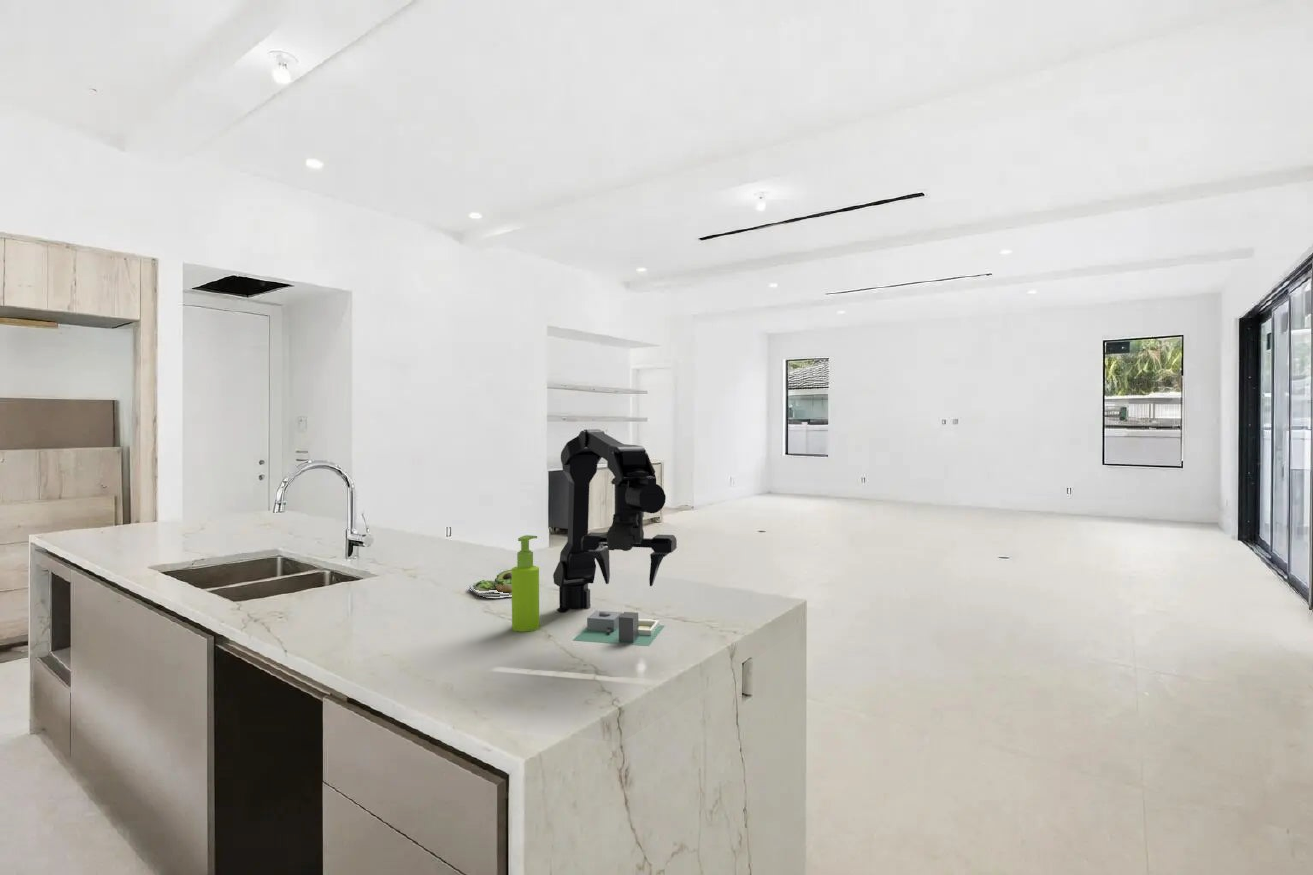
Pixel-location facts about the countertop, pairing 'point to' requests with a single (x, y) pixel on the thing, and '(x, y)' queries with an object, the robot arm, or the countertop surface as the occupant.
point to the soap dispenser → (525, 589)
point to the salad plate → (495, 585)
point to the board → (617, 629)
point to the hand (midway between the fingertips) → (629, 584)
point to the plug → (628, 627)
